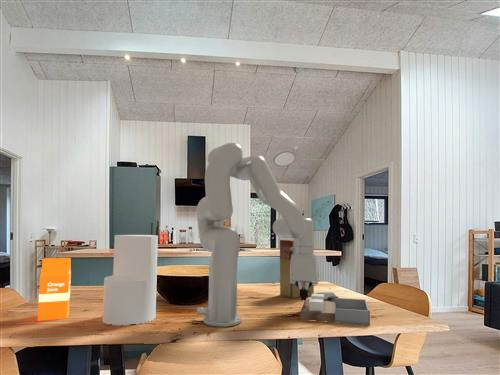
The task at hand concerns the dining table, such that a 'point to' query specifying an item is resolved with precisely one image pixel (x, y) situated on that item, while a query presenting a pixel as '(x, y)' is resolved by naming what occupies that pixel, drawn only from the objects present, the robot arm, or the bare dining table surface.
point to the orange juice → (54, 289)
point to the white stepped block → (131, 281)
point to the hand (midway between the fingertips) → (303, 299)
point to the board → (319, 312)
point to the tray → (352, 311)
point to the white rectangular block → (315, 305)
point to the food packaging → (285, 259)
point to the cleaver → (329, 296)
